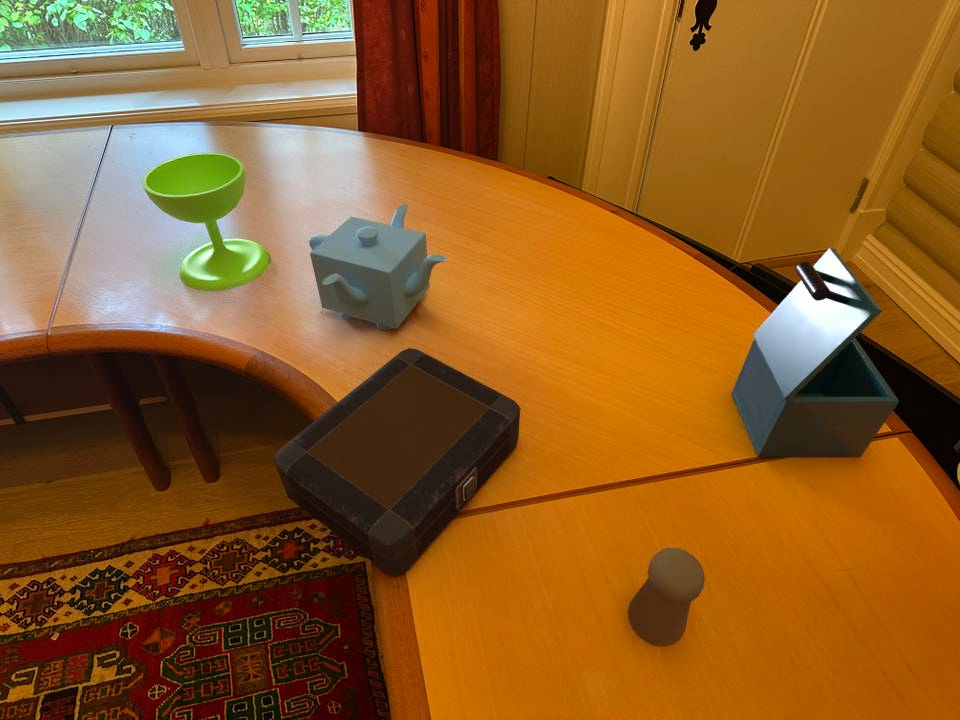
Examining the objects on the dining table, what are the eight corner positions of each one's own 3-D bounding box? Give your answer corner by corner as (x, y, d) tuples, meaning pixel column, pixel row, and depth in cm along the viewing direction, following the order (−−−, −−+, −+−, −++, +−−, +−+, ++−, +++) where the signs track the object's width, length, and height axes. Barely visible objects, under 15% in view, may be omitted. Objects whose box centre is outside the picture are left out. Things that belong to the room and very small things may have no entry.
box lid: (835, 249, 71) (797, 235, 70) (883, 310, 63) (841, 296, 62) (757, 336, 81) (723, 325, 79) (790, 399, 72) (752, 389, 71)
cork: (616, 602, 65) (634, 550, 58) (663, 581, 67) (686, 528, 60) (649, 656, 61) (672, 608, 54) (697, 632, 63) (727, 582, 56)
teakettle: (314, 289, 107) (296, 214, 97) (415, 265, 112) (408, 192, 102) (339, 356, 94) (321, 278, 84) (451, 325, 99) (448, 249, 89)
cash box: (402, 587, 67) (395, 551, 61) (280, 494, 75) (265, 456, 70) (526, 444, 81) (530, 405, 76) (413, 380, 90) (408, 341, 85)
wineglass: (202, 239, 119) (170, 150, 106) (281, 243, 117) (258, 154, 105) (163, 287, 107) (121, 194, 95) (250, 293, 106) (220, 199, 93)
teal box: (823, 393, 88) (855, 337, 81) (860, 457, 80) (899, 401, 72) (730, 393, 88) (754, 337, 81) (757, 457, 80) (786, 401, 72)
